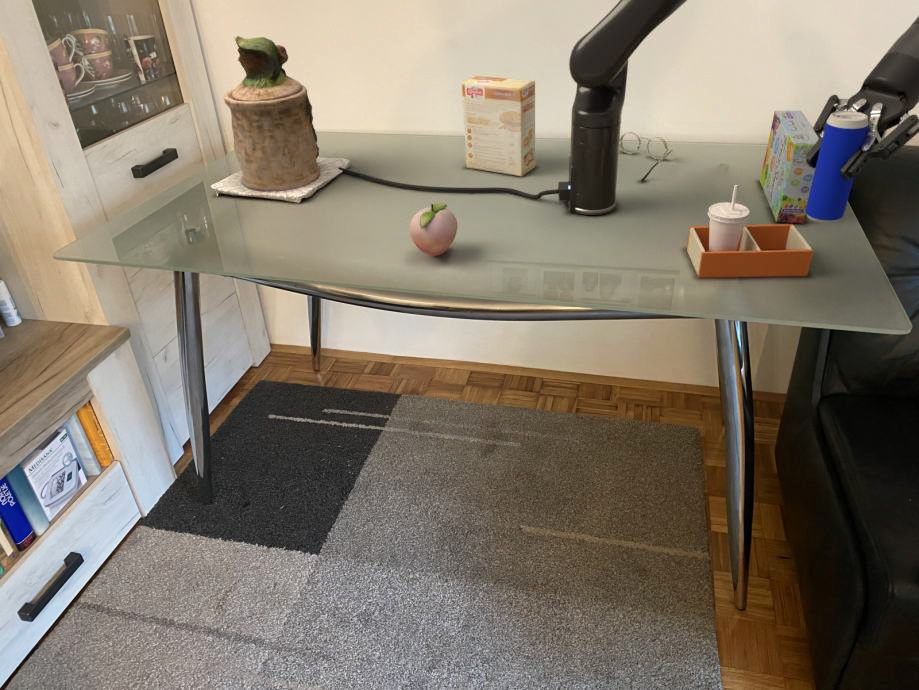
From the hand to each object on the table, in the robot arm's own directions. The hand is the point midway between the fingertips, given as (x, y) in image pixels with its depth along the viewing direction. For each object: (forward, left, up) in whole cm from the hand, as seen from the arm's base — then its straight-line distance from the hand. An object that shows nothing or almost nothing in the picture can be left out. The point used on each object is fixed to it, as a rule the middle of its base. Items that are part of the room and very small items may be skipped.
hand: (826, 170), depth 98 cm
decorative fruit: (-59, +14, -20) cm, 64 cm away
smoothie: (-10, +9, -20) cm, 24 cm away
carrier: (-6, +9, -19) cm, 22 cm away
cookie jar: (-99, +54, -20) cm, 115 cm away
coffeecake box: (-48, +58, -20) cm, 78 cm away
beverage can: (+2, +1, -8) cm, 8 cm away
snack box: (+8, +34, -20) cm, 40 cm away
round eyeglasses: (-19, +57, -20) cm, 63 cm away
